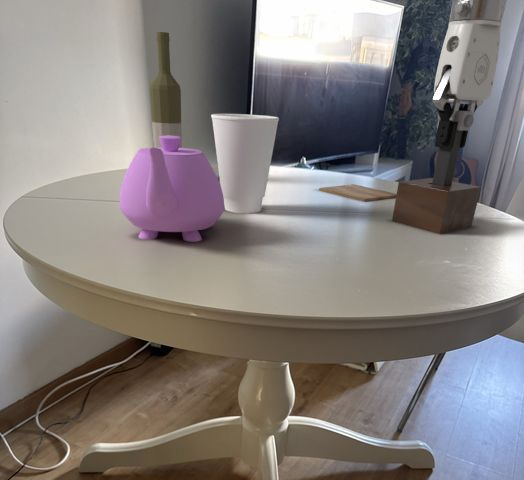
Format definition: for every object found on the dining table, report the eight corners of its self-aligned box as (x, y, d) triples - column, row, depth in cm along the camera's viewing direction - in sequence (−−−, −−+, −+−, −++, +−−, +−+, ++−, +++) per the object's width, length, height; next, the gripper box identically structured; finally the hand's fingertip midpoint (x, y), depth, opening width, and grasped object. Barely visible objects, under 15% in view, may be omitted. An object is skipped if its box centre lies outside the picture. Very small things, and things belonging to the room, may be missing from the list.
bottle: (167, 181, 113) (159, 30, 99) (148, 177, 117) (139, 31, 103) (189, 178, 118) (185, 33, 104) (171, 174, 122) (165, 34, 108)
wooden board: (353, 186, 119) (353, 184, 119) (399, 197, 110) (399, 194, 109) (318, 190, 112) (319, 187, 112) (364, 201, 103) (364, 198, 102)
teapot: (215, 258, 64) (215, 147, 58) (99, 252, 64) (86, 141, 57) (229, 219, 83) (230, 133, 77) (140, 214, 83) (133, 128, 77)
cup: (252, 200, 98) (255, 114, 91) (286, 213, 90) (292, 118, 82) (200, 205, 92) (199, 113, 85) (231, 218, 84) (233, 117, 76)
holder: (424, 215, 94) (431, 177, 90) (471, 227, 87) (481, 186, 83) (391, 221, 88) (398, 181, 85) (439, 234, 81) (449, 191, 78)
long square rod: (430, 205, 88) (449, 109, 81) (454, 210, 85) (477, 111, 77) (421, 207, 87) (440, 109, 79) (445, 212, 83) (467, 111, 76)
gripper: (469, 7, 65) (441, 151, 74) (526, 20, 74) (494, 147, 83) (423, 11, 70) (401, 146, 79) (481, 23, 79) (456, 143, 88)
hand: (449, 146), depth 81 cm, fingers closed on long square rod, 2 cm apart
